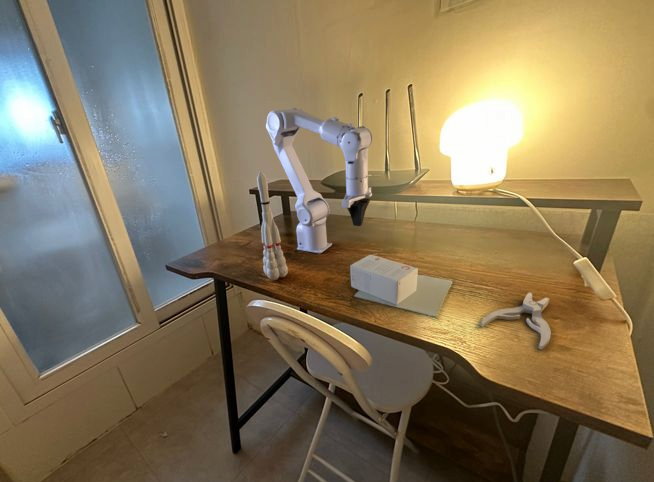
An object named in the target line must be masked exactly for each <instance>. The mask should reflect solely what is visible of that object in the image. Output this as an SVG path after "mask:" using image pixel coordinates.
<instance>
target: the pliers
mask: <svg viewBox="0 0 654 482" xmlns="http://www.w3.org/2000/svg"><path fill="white" fill-rule="evenodd" d="M549 302H550V298H549V297H544V298H542V299H540V300H538V301H534V300H533V292H530V291H529V292H527V294H526V295H525V297H524V299H523V302H522V305H519V306H517V307H509V308H507V307H506V308H500V309H496V310H493V311H492V312H490V313H488V314H486V315H485V316H484V317H483V318H482V320H481V322H480V325H479V326H480V327H482V328H484V327H486V325H488V324H489V323H491V322H493V321H495V320H497V319H498V320H500V319H501V320H507V321H511V320H519V319H521V314H523V313H525V314H531V319H530V318H529V317H526V319H525V322H526V324H527V325H528V326H529V327H530V328H531V329H533V330H534V331H535V332H538V334H540V340H539V344H538V347H537V349H539V350H541V351H542V350H543V349H544V348H546V346H548V344H549V342H550V339H551V336H552V332H551V327H550V325H549V324H548V322H547V321H546V320H545V319H544V318H543V315H542V312H543V311H544V310H545V308H546V307H547V306H548V305H549Z"/></svg>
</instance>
